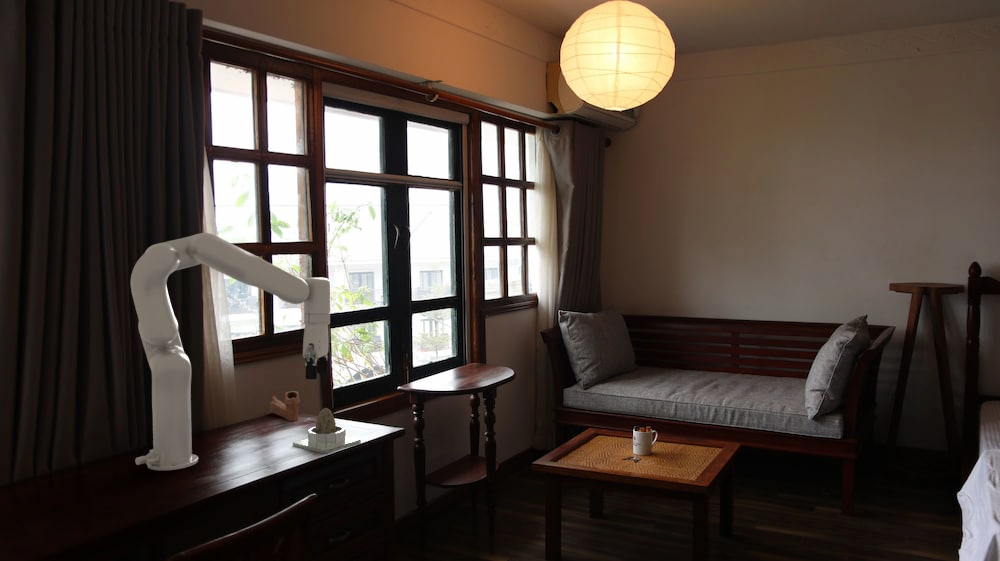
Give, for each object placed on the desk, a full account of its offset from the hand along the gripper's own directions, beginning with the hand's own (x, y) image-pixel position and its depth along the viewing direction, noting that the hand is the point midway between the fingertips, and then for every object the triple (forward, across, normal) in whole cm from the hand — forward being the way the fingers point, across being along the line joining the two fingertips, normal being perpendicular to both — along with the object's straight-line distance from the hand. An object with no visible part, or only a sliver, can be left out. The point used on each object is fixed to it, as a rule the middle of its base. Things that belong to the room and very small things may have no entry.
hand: (316, 376), depth 213 cm
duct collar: (+20, 0, +3) cm, 21 cm away
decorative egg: (+20, 0, +3) cm, 20 cm away
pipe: (+21, -32, -23) cm, 44 cm away
